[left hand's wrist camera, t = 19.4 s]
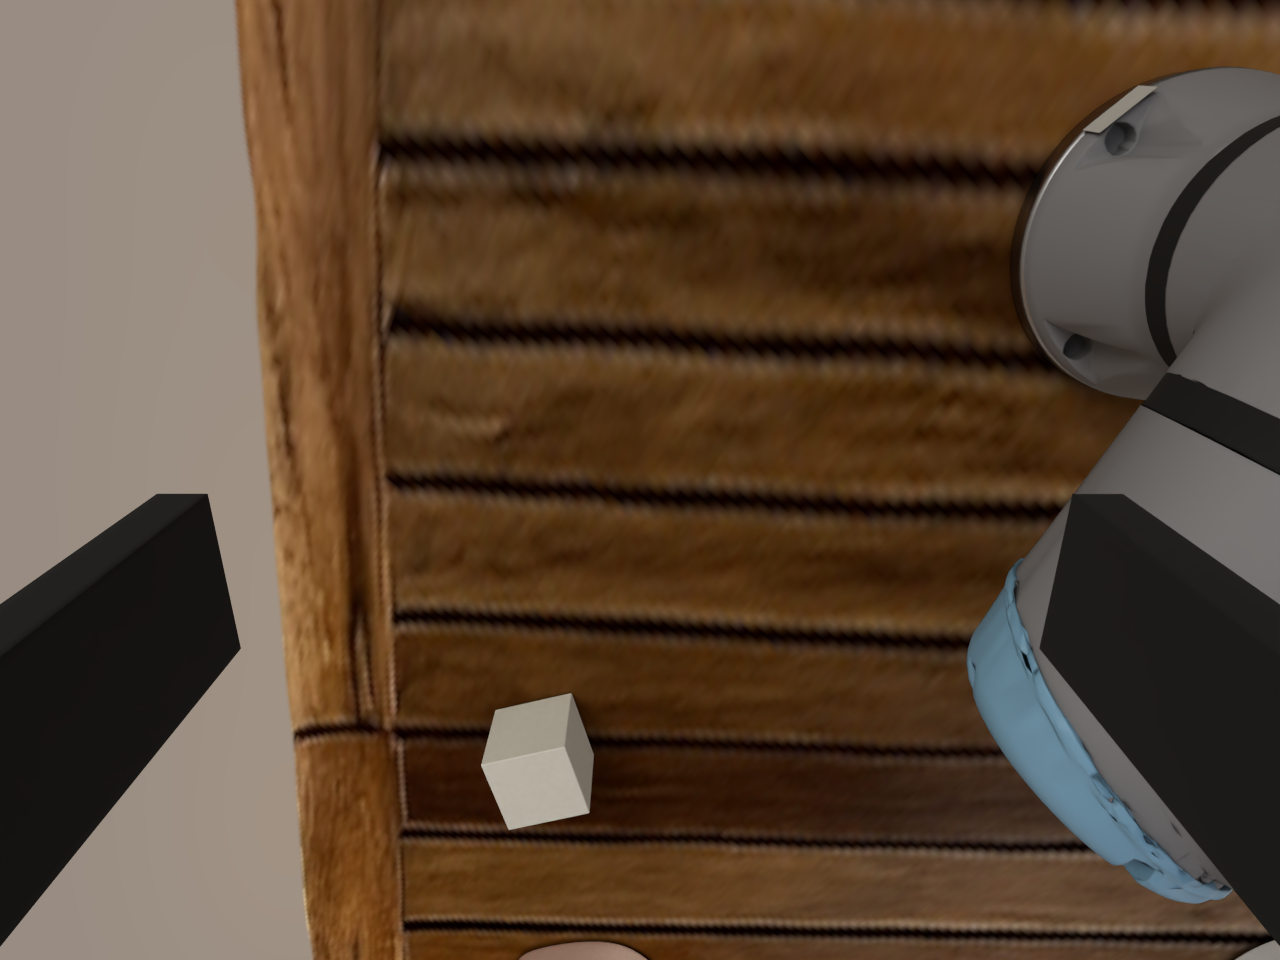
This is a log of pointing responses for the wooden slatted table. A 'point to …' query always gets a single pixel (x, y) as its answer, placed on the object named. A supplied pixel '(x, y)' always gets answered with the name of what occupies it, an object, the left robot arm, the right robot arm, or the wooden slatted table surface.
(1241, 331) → the left robot arm
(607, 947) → the anatomical model
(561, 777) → the plastic block
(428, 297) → the wooden slatted table surface
